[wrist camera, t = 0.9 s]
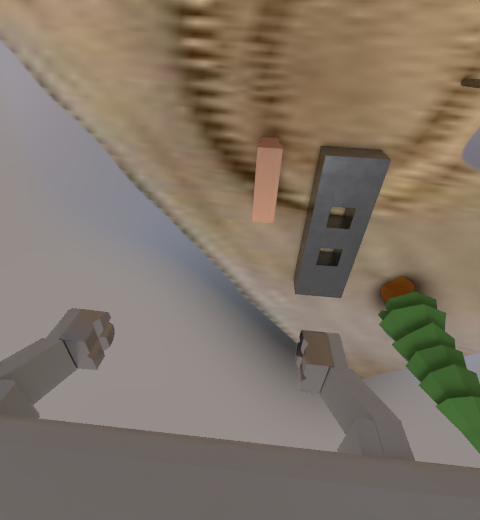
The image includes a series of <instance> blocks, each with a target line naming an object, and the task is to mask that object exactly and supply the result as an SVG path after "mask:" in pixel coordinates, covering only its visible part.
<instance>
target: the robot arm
mask: <svg viewBox="0 0 480 520" xmlns="http://www.w3.org/2000/svg"><path fill="white" fill-rule="evenodd" d="M109 320H110V315H109V313H108V312H102V311H94V310H86V309H76V308H72V309H70V310H68V311H67V313H66V314H65V315H64V317H63V318H62V319H61V320H60V321H59V323H58V324H57V325H56V327H55V328H54V329H53V330H52V331H51V333H50V334H49V335H48V336H47V338H42V339H40V340H38V341H36V342H35V343H33V344H31V345H29V346H28V347H26V348H24V349H22V350H20V351H19V352H17V353H15V354H13V355H11V356H10V357H8V358H6V359H4V360H2V361H1V362H0V520H480V468H472V467H463V466H455V465H446V464H437V463H427V462H418V461H415V459H414V456H413V454H412V451H411V448H410V446H409V442H408V440H407V437H406V434H405V431H404V429H403V426H402V423H401V421H400V420H399V419H398V418H397V416H396V415H395V414H394V413H393V412H392V411H391V410H390V409H389V408H388V407H387V406H386V405H385V404H384V403H383V401H382V400H381V399H380V398H379V397H378V396H377V395H376V394H375V393H374V392H373V391H372V390H371V389H370V388H369V387H368V385H366V383H365V382H364V381H363V380H362V379H361V378H360V377H359V376H358V375H357V374H356V373H355V372H354V370H353V369H349V368H348V364H347V360H346V357H345V353H344V349H343V345H342V341H341V337H340V335H339V334H337V333H325V332H316V331H304V330H302V331H301V332H300V336H299V337H300V342H298V344H297V349H296V366H297V367H298V368H299V371H298V374H297V379H298V388H299V391H303V392H311V393H318V394H320V396H321V397H322V399H323V401H324V402H325V404H326V405H327V407H328V408H329V410H330V411H331V413H332V414H333V416H334V417H335V419H336V420H337V422H338V423H339V425H340V427H341V428H342V430H343V431H344V433H345V434H346V436H345V438H344V439H343V441H342V443H341V444H340V446H339V448H338V449H337V452H330V451H321V450H312V449H303V448H294V447H285V446H277V445H268V444H259V443H251V442H242V441H233V440H224V439H215V438H207V437H198V436H189V435H180V434H171V433H163V432H153V431H145V430H136V429H127V428H118V427H109V426H100V425H92V424H83V423H74V422H65V421H56V420H47V419H39V413H38V411H37V410H36V409H35V407H34V406H33V405H34V404H35V403H36V402H37V401H38V400H40V399H41V398H42V397H43V396H45V395H46V394H47V393H48V392H50V391H51V390H52V389H53V388H54V387H56V386H57V385H58V384H59V383H61V382H62V381H63V380H64V379H66V378H67V377H68V376H69V375H70V374H72V373H73V372H74V371H75V370H77V369H76V368H81V369H93V370H97V369H98V367H99V365H100V363H101V361H102V360H103V358H104V356H105V355H104V350H106V349H107V348H109V347H110V345H111V343H112V341H113V338H114V326H113V325H112V324H111V323H110V322H109Z"/></svg>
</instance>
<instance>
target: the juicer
mask: <svg viewBox="0 0 480 520" xmlns="http://www.w3.org/2000/svg"><path fill="white" fill-rule="evenodd" d="M461 85H462V86H466V87H473V88H480V79H464V80H463V81H462V83H461Z"/></svg>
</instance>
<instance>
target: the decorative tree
mask: <svg viewBox="0 0 480 520" xmlns="http://www.w3.org/2000/svg"><path fill="white" fill-rule="evenodd" d="M414 288H415V284H414V283H412V282H411V281H409V280H408V279H406V278H404V277H403V276H401V277H399V278H397V279H395V280H393V281H391V282H389V283H387V284H385V285H384V286H382V288H381V294H382V298H383V301H386V302H387V303H386V304H385V306H386V309H387V311H382V310H381V311H380V313H379V314H378V315H379V316H380V317H381V319H382V320H383V321H382V322H381V323H380V324H379V325H380V326H381V327H382V328H383V330H384V331H385V332H386V333H387V334H388V335H389V336H390V337H391V338H392V339H393V340H395V341H396V342H394V343H393V344H392V345H393V346H394V348H395V349H396V350H397V351H398V352H399V353H400V354H401V355H402V356H403V357H404V358H405V359H406V360H407V361H408V363H407V365H406V367H407V368H408V369H409V370H410V371H411V373H412V374H413V375H414V376H415V377H416V378H417V379H418V380H419V381H420V382H421V383H420V384H419V386H420V387H421V388H422V389H423V390H424V391H425V392H426V393H427V394H428V395H429V396H430V397H431V398H432V399H433V400H434V401H435V402H436V403H437V404H438V405H437V406H436V407H437V408H438V409H439V410H440V411H441V412H442V413H443V414H444V415H445V416H446V417H447V418H448V419H449V420H450V421H451V422H452V423H453V424H454V425H455V426H456V427H457V428H458V429H459V430H460V431H461V432H462V433H463V434H464V435H465V437H466V438H467V439H468V440H469V441H470V443H471V444H472V445H473V446H474V447H475V449H476V450H477V451H478V452H479V453H480V384H479V380H478V377H477V374H476V373H474V372H472V371H469V370H467V368H466V364H465V361H464V357H463V353H462V352H461V351H458V350H456V349H455V339H454V338H453V337H451V336H450V335H449V334H447V333H446V332H445V319H446V313H445V312H442V311H439V310H437V305H436V299H433V298H431V297H428V296H426V295H423V294H421V293H418V292H414Z"/></svg>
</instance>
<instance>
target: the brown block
mask: <svg viewBox="0 0 480 520" xmlns="http://www.w3.org/2000/svg"><path fill="white" fill-rule="evenodd" d="M282 153H283V145H282V144H279V138H271V137H261V143H258V148H257V161H256V175H255V188H254V201H253V215H252V221H254V222H267V223H274V215H275V207H276V200H277V192H278V184H279V176H280V168H281V161H282Z"/></svg>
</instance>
